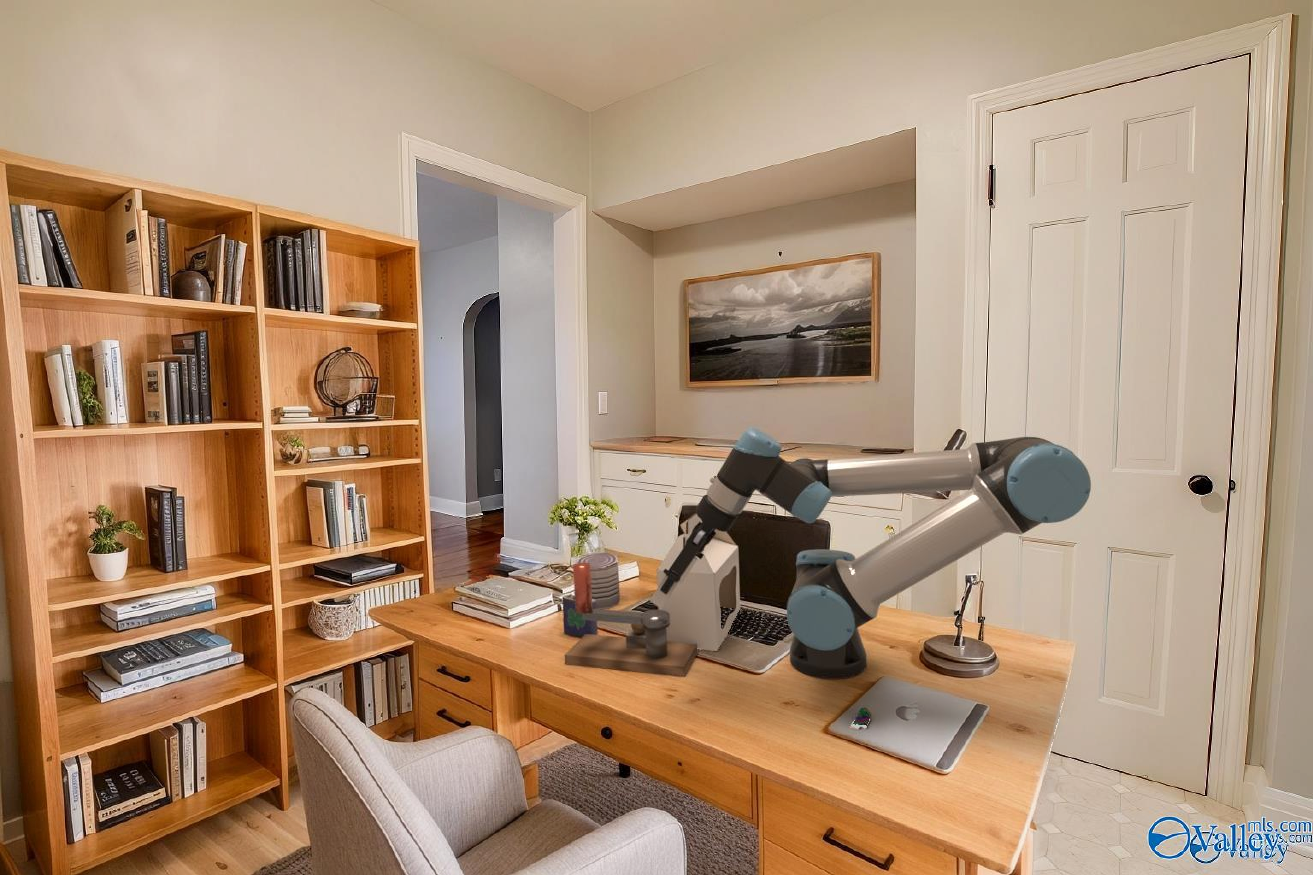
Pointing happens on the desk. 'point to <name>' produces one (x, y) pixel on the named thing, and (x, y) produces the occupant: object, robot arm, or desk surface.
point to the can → (603, 578)
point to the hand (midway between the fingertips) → (666, 591)
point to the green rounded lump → (863, 717)
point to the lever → (584, 606)
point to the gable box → (703, 590)
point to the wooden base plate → (634, 652)
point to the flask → (576, 619)
